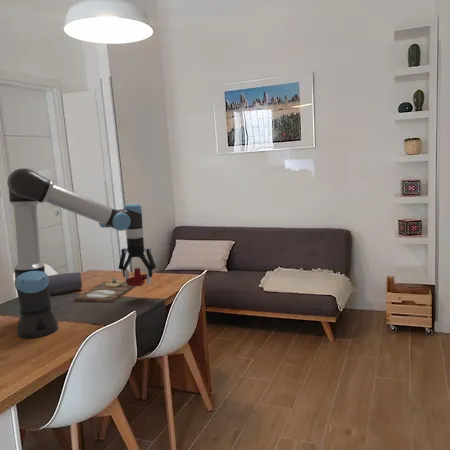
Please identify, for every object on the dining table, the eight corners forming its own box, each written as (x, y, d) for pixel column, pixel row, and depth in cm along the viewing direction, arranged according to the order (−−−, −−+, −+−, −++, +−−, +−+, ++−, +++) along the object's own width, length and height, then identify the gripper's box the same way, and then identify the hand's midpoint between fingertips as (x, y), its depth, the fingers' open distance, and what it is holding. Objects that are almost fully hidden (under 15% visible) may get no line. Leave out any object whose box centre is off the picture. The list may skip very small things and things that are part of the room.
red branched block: (142, 280, 219) (141, 263, 218) (153, 284, 209) (152, 267, 208) (121, 284, 213) (120, 266, 212) (131, 289, 203) (130, 271, 202)
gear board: (112, 302, 212) (111, 292, 212) (74, 301, 217) (73, 291, 216) (137, 284, 241) (137, 275, 241) (103, 284, 246) (102, 275, 245)
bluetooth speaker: (81, 287, 242) (79, 269, 241) (82, 292, 234) (80, 273, 232) (36, 294, 234) (33, 275, 233) (35, 299, 226) (33, 279, 224)
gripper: (161, 235, 209) (164, 282, 212) (116, 236, 214) (119, 281, 217) (155, 238, 202) (158, 286, 205) (108, 238, 207) (112, 285, 210)
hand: (138, 283), depth 211 cm, fingers closed on red branched block, 10 cm apart
